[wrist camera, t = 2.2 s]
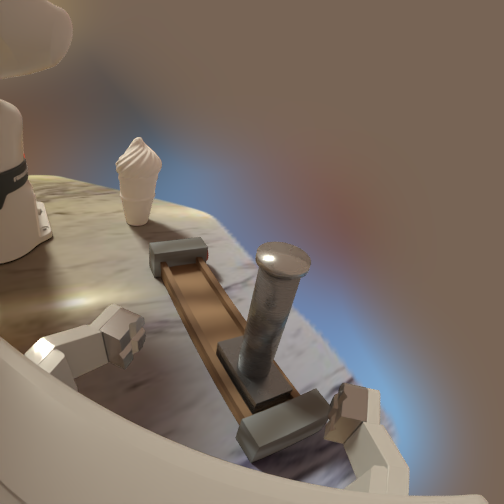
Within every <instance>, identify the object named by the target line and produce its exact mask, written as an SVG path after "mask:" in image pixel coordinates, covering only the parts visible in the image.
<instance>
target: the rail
mask: <svg viewBox="0 0 504 504" xmlns="http://www.w3.org/2000/svg"><path fill="white" fill-rule="evenodd" d="M207 260H208V247H207V245H206V244H205V243H204V241H203V240H202V238H201V237H197V238H188V239H179V240H171V241H162V242H154V243H149V266H150V268H151V271H152V273H153V275H154V278H155V277H161V278H162V280H163V282H164V284H165V286H166V289H167V291H168V293H169V295H170V297H171V299H172V301H173V303H174V305H175V307H176V310H177V312H178V314H179V316H180V318H181V320H182V322H183V324H184V326H185V328H186V330H187V332H188V334H189V336H190V338H191V340H192V341H193V343H194V345H195V347H196V349H197V351H198V353H199V355H200V357H201V359H202V360H203V362H204V364H205V366H206V368H207V370H208V372H209V373H210V375H211V377H212V379H213V381H214V382H215V384H216V386H217V388H218V390H219V391H220V393H221V395H222V397H223V398H224V400H225V402H226V404H227V405H228V407H229V409H230V410H231V412H232V414H233V416H234V417H235V419H236V421H237V422H238V424H239V429H238V432H237V435H236V440H237V441H238V443H239V445H240V446H241V448H242V449H243V451H244V453H245V454H246V456H247V458H248V459H249V461H250V462H251V463H252V462H255V461H257V460H259V459H262V458H264V457H266V456H269V455H271V454H273V453H275V452H277V451H280V450H282V449H284V448H286V447H288V446H290V445H292V444H294V443H296V442H298V441H300V440H302V439H304V438H306V437H308V436H310V435H312V434H314V433H316V432H318V431H320V430H321V428H322V427H323V426H324V424H325V423H326V422H327V420H328V419H329V418H328V416H327V415H328V410H329V406H330V405H329V404H328V403H327V401H326V400H325V399H324V398H323V396H322V395H321V394H320V393H319V391H318V390H317V389H313V390H311V391H309V392H307V393H305V394H302V395H300V394H299V393H298V391H297V390H296V389H295V387H294V386H293V385H292V383H291V382H290V381H289V379H288V378H287V377H286V375H285V374H284V373H283V371H282V370H281V369H280V367H279V366H278V365H277V363H276V362H275V361H274V360H273V363H274V364H275V366H276V367H277V368H278V370H279V371H280V372H281V374H282V375H283V377H284V378H285V379H286V381H287V382H288V383H289V385H290V386H291V387H292V389H293V390H292V392H291V394H290V396H289V398H288V400H287V401H285V402H282V403H280V404H277V405H275V406H272V407H270V408H267V409H265V410H262V411H260V412H257V413H255V414H252V413H251V412H250V410H249V408H248V407H247V405H246V404H245V402H244V400H243V399H242V397H241V396H240V394H239V392H238V391H237V389H236V387H235V386H234V384H233V383H232V381H231V379H230V378H229V376H228V374H227V373H226V371H225V369H224V367H223V366H222V364H221V362H220V361H219V359H218V357H217V356H216V350H217V343H218V342H220V341H224V340H228V339H231V338H235V337H239V336H243V335H244V332H245V327H246V323H247V322H246V321H245V319H244V318H243V316H242V315H241V313H240V312H239V311H238V309H237V308H236V306H235V305H234V304H233V302H232V301H231V299H230V298H229V296H228V295H227V294H226V292H225V291H224V289H223V288H222V286H221V285H220V283H219V282H218V281H217V279H216V278H215V276H214V275H213V273H212V272H211V270H210V269H209V267H208V266H207V264H206V261H207Z"/></svg>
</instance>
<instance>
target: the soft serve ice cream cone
mask: <svg viewBox="0 0 504 504" xmlns="http://www.w3.org/2000/svg"><path fill="white" fill-rule="evenodd" d="M161 166H162V162H161V160H160V158H159V157H158V156H157V155H156V153H155V152H154V151H153V150H152V149H151V148H149V147H148V146H147V145H146V144H145V143H144V141H143V140H142V139H141V137H137V138H135V139H134V140H133V141H132V143H131V144H130V146H129V147H128V149H127V150H126V151H125V153H124V154H123V155H122V156H121V157H119V160H118V161H117V163H116V167H117V168H116V171H117V173H119V176H118V179H119V181H120V197H121V199H122V204H123V209H124V214H125V218H126V222H127V223H128V224H130V225H133V226H140V225H144V224H146V223H147V222H148V219H149V214H150V210H151V206H152V202H153V198H154V197H155V187H156V181H157V179H158V172H159V171H160V169H161Z"/></svg>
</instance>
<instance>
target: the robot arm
mask: <svg viewBox="0 0 504 504" xmlns="http://www.w3.org/2000/svg"><path fill="white" fill-rule="evenodd" d="M72 34H73V26H72V22H71V19H70V17H69V15H68V14H67V12H66V11H65V10H63V8H60V7H58V6H56V5H54V4H52V3H50V2H49V1H47V0H0V79H4V78H10V77H16V76H23V75H29V74H32V73H35V72H39V71H42V70H45V69H48V68H51V67H54V66H56V65H57V64H58V63H59V62H60V61H61V60H62V59H63V57H64V56H65V54H66V53H67V51H68V49H69V47H70V44H71V40H72ZM27 171H28V168H27V164H26V159H25V154H23V119H22V116H21V114H20V112H19V110H18V109H17V108H16V107H15V106H14V105H12V104H10V103H8V102H6V101H3V100H1V99H0V263H5V262H9V261H12V260H15V259H17V258H19V257H21V256H23V255H25V254H27V253H28V252H30V251H31V250H32V249H33V248H34V247H36V246H37V245H38V244H39V243H41V242H43V241H45V240H47V239H49V238H51V237H52V231H51V227H50V224H49V220H48V217H47V213H46V209H45V206H44V203H42V202H36V194H34V192H33V185H32V184H31V183H30V182H29V180H28V172H27ZM144 324H145V322H144V318H143V317H142V316H139V315H137V314H135V313H133V312H131V311H129V310H126V309H124V308H122V307H120V306H117V305H115V304H111V305H109V306H108V307H107V308H106V309H105V310H104V311H103V312H102V313H101V314H100V315H99V316H98V317H97V318H96V319H95V320H94V321H93V322H92V323H91V324H90V325H87V324H86V325H82V326H79V327H76V328H72V329H69V330H66V331H62V332H59V333H55V334H52V335H49V336H45V337H42V338H40V339H39V340H38V341H37V342H36V343H35V344H34V345H33V346H32V347H31V348H30V349H29V350H28V351H27V352H26V353H25V354H24V355H23V354H22V353H21V352H19V351H18V350H17V349H15V348H14V347H13V346H12V345H10V344H9V343H8V342H7V341H5V340H4V339H3V338H2V337H1V336H0V504H489V503H488V502H487V501H486V499H485V498H484V497H483V496H481V495H474V494H473V495H458V496H408V494H409V493H408V492H409V467H408V465H407V464H406V462H405V460H404V459H403V457H402V455H401V454H400V452H399V450H398V449H397V447H396V445H395V444H394V442H393V441H392V439H391V437H390V436H389V434H388V432H387V431H386V429H385V428H384V426H383V425H380V392H379V390H374V389H369V388H366V387H361V386H356V385H352V384H348V383H342V384H341V386H340V387H339V392H338V394H335V395H334V397H333V399H332V401H331V403H330V406H329V410H328V415H327V416H328V418H329V422H328V423H327V424H326V427H325V434H324V439H325V440H329V441H334V442H338V443H342V444H343V446H344V448H345V451H346V453H347V455H348V458H349V460H350V463H351V465H352V468H353V470H354V473H355V475H356V478H357V480H355V481H354V482H352V483H351V484H350V485H348V486H347V487H346V488H344V489H337V488H331V487H325V486H320V485H314V484H309V483H304V482H300V481H295V480H291V479H287V478H282V477H278V476H274V475H271V474H267V473H263V472H260V471H256V470H253V469H249V468H246V467H243V466H239V465H236V464H233V463H230V462H227V461H224V460H221V459H218V458H215V457H213V456H210V455H207V454H204V453H202V452H199V451H196V450H194V449H191V448H189V447H186V446H184V445H181V444H179V443H176V442H174V441H172V440H169V439H167V438H165V437H163V436H160V435H158V434H156V433H154V432H152V431H149V430H147V429H145V428H143V427H141V426H139V425H137V424H135V423H133V422H131V421H129V420H127V419H125V418H123V417H121V416H119V415H117V414H115V413H114V412H112V411H110V410H108V409H106V408H104V407H103V406H101V405H99V404H97V403H96V402H94V401H92V400H90V399H89V398H87V397H85V396H84V395H82V394H80V393H79V392H77V391H78V388H77V385H76V383H75V381H74V379H75V378H77V377H79V376H81V375H83V374H85V373H87V372H90V371H92V370H94V369H96V368H98V367H100V366H102V365H105V364H107V363H108V362H110V363H112V364H114V365H117V366H119V367H121V368H123V369H126V368H127V366H128V365H129V364H130V362H131V361H132V360H133V354H134V353H137V352H139V351H140V349H141V348H142V346H143V344H144V341H145V336H146V335H145V330H144V329H143V325H144Z"/></svg>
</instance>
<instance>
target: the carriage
mask: <svg viewBox="0 0 504 504" xmlns="http://www.w3.org/2000/svg"><path fill="white" fill-rule="evenodd" d="M256 263H257V265H258V266H259V270H258V274H257V279H256V283H255V288H254V292H253V296H252V301H251V305H250V310H249V314H248V319H247V323H246V327H245V332H244V335H243V336H239V337H235V338H231V339H228V340H224V341H220V342H218V343H217V350H216V356H217V357H218V359H219V361H220V362H221V364H222V366H223V367H224V369H225V371H226V373H227V374H228V376H229V378H230V379H231V381H232V383H233V384H234V386H235V387H236V389H237V391H238V392H239V394H240V396H241V397H242V399H243V400H244V402H245V404H246V405H247V407H248V408H249V410H250V412H251V413H252V414H255V413H257V412H260V411H262V410H265V409H267V408H270V407H272V406H275V405H277V404H280V403H282V402H285V401H287V400H288V398H289V396H290V394H291V392H292V390H293V389H292V387H291V386H290V385H289V383H288V382H287V381H286V379H285V378H284V377H283V375H282V374H281V372H280V371H279V370H278V368H277V367H276V366H275V364H274V363H273V360H274V357H275V354H276V351H277V348H278V345H279V342H280V339H281V336H282V333H283V331H284V328H285V325H286V322H287V319H288V316H289V313H290V310H291V306H292V303H293V300H294V297H295V294H296V291H297V288H298V285H299V282H300V278H302V277H304V276H305V275H306V274H307V273H308V271H309V268H310V265H311V260H310V257H309V256H308V255H307V254H306V253H305V252H304V251H303V250H301V249H300V248H298V247H296V246H294V245H291V244H287V243H283V242H267V243H264V244H262V245H260V246H259V247H258V249H257V253H256Z"/></svg>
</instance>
